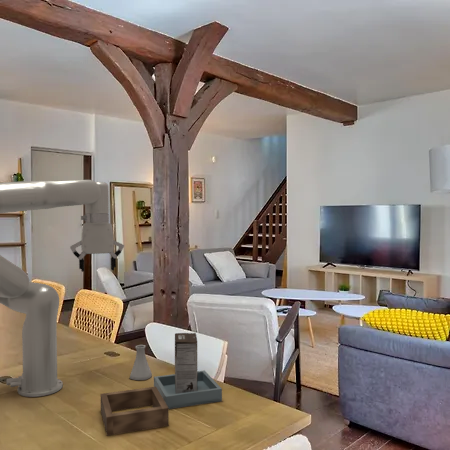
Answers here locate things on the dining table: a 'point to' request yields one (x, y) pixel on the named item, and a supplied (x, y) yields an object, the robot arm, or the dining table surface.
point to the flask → (140, 365)
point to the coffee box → (185, 362)
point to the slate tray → (205, 392)
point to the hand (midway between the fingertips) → (97, 270)
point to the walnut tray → (135, 418)
